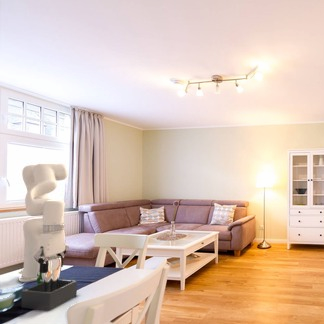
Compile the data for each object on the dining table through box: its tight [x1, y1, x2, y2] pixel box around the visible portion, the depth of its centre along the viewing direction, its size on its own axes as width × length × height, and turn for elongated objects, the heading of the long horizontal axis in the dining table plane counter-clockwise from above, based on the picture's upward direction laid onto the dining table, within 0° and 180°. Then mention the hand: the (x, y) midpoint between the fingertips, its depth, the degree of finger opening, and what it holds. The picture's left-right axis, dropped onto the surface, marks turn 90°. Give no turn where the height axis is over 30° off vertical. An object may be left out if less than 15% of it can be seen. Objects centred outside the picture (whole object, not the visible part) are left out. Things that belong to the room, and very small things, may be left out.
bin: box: [20, 278, 78, 311], centre depth 118 cm, size 14×14×7 cm
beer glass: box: [42, 256, 62, 292], centre depth 119 cm, size 7×7×15 cm
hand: (51, 269), depth 119 cm, fingers closed on beer glass, 7 cm apart
